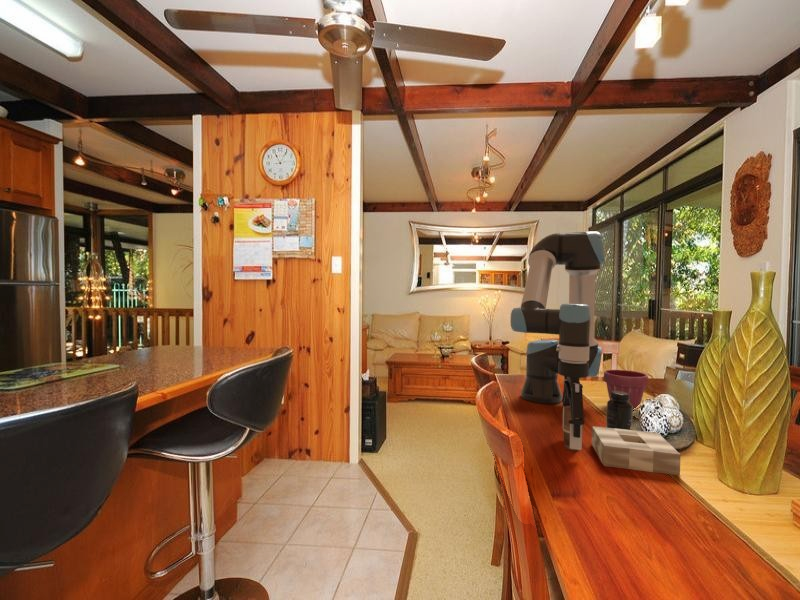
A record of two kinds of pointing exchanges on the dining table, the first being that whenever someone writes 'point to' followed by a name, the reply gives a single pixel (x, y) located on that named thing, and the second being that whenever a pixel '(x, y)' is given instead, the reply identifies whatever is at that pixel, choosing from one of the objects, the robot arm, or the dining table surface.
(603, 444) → the seat board
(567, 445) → the peg
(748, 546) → the dining table surface
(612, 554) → the dining table surface
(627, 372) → the plant pot
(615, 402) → the supplement bottle
